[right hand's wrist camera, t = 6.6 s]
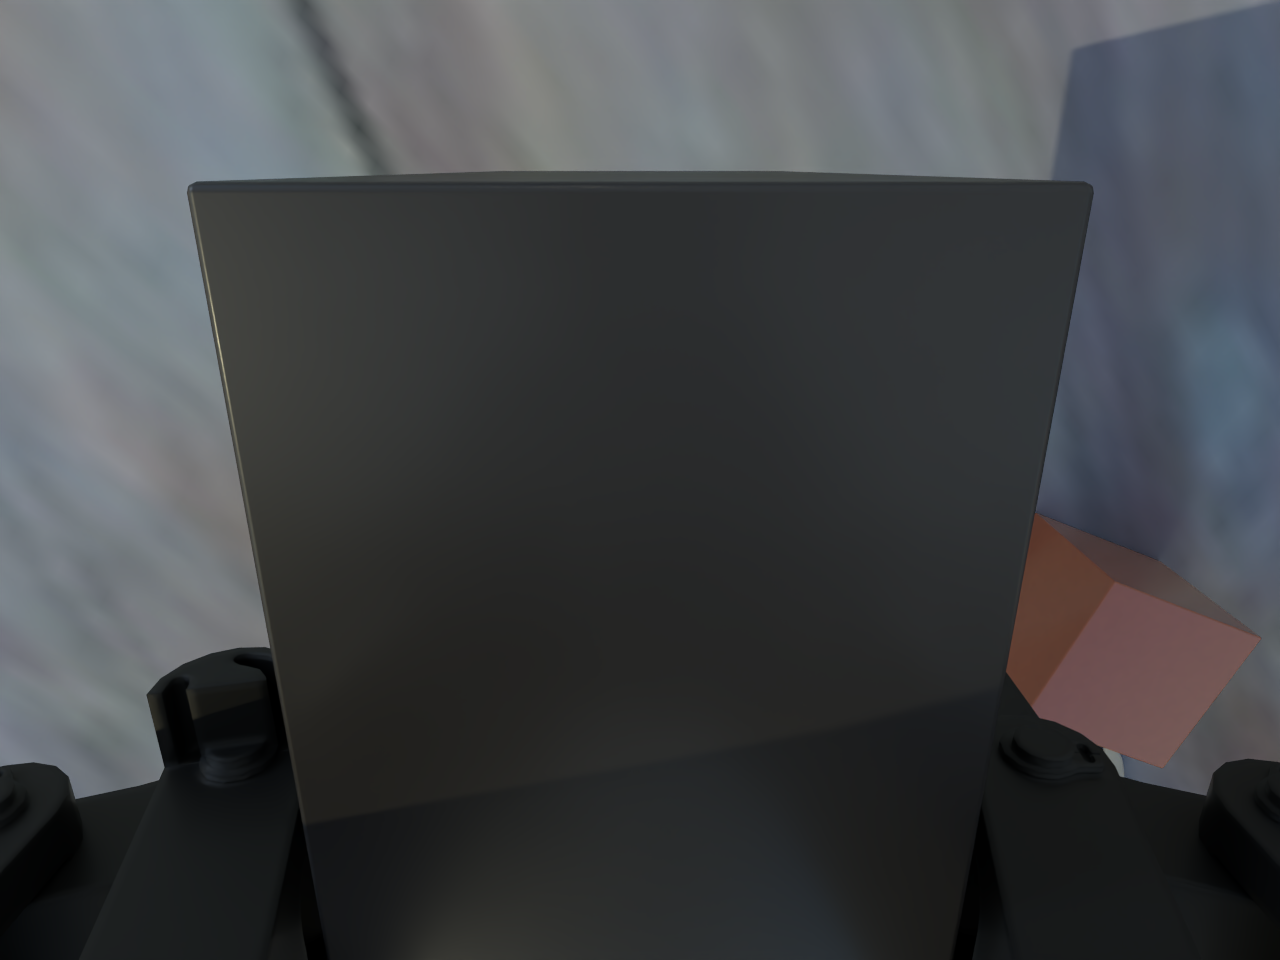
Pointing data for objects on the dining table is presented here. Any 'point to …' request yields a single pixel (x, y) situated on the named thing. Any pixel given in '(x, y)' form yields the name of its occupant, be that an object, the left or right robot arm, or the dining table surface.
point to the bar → (640, 543)
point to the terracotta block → (1118, 643)
